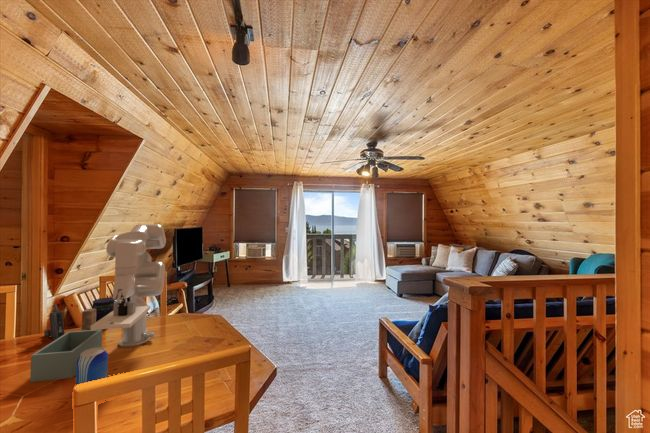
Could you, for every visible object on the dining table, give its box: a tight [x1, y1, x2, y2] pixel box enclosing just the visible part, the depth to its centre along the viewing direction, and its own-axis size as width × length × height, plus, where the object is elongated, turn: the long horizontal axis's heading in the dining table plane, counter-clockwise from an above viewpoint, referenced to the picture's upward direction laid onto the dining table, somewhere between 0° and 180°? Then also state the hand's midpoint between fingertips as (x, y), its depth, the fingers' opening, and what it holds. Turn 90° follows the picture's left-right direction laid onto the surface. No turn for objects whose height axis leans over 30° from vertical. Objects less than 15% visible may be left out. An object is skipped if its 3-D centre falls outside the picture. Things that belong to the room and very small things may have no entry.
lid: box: [91, 301, 151, 330], centre depth 117 cm, size 13×22×6 cm, turn 15°
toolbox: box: [29, 330, 103, 383], centre depth 116 cm, size 13×22×10 cm, turn 15°
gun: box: [43, 304, 66, 341], centre depth 141 cm, size 3×17×15 cm
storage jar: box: [91, 297, 116, 331], centre depth 156 cm, size 10×10×15 cm
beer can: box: [75, 347, 109, 386], centre depth 96 cm, size 8×8×16 cm
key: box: [81, 308, 96, 331], centre depth 137 cm, size 4×4×16 cm
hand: (124, 313), depth 118 cm, fingers closed on lid, 3 cm apart
